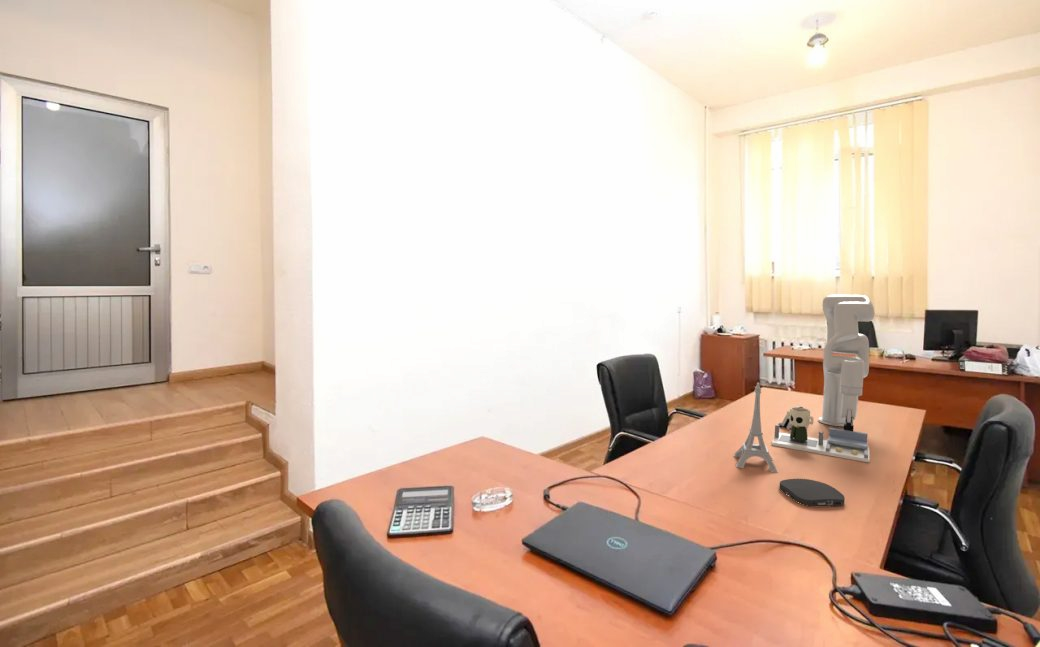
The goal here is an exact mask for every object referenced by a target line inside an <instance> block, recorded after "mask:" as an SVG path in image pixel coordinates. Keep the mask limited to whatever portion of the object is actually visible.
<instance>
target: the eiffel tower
mask: <svg viewBox="0 0 1040 647" xmlns="http://www.w3.org/2000/svg"><path fill="white" fill-rule="evenodd" d="M754 393H755V397H754V405H753V406H754V408H753V416H752V422H751V427H750V428H749V433H748V436H747V437H746V440H745V441H744V442H742V446H741V447H740V448H738V449H737V451H735V453H733V457H734V456H735V457H734V458H737V457H740V458H739V459H738V461H737V463H736V464H735V468H737V467H739V468H738V469H745V465H746V463H747V461H748V459H750V458H753V457H756V458H757V457H758V458H760V459H763V460H764V461H765V462H766V464H767V465H768V471H769V472H770V471H773V472H772V473H779V471H778V469H777V467H776V466H775V464H774V462H772V461H774V459H773V458H772V456H771V454H770V451H769V449H768V447H767V444H765V441H764V438H763V435H764V432H763V430H762V424H761V423H762V421H761V394H762V388H761V386H760V382H756V386H755V387H754ZM755 438H757V440H758V443H754V441H755Z"/></svg>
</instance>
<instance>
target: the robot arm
mask: <svg viewBox="0 0 1040 647" xmlns="http://www.w3.org/2000/svg"><path fill="white" fill-rule="evenodd" d="M822 311H823V314H824V316H825V320H826V324H827V329H826V330H827V331H826V334H827V335H826V338H827V342H826V344H825V345H824V348H823V360H822V368H823V379H824V380H823V395H822V396H823V400H822V413H821V414H822V415H821V416H819V417H818V422H819V423H821V424H823V425H828V426H832V427H843V430H848V431H854V420H856V417H857V412H858V404H859V397H861V396H863V386H864V378H866V377H868V375H869V370H870V343H869V342H870V341H869V338H868V336H867V335H865V334H863V333H859V322H866V323H867V322H871V321H872V320H873V319H874V317H875V306H874V305H873V303H872V301H871V299H870V298H869V297H868V296H867V295H865V294H864V295H863V294H862V295H861V294H830V295H827V296H825V297H824V298H823V299H822ZM832 353H835V354H846V355H845V356H843V355H833V354H832ZM847 354H848V355H855V356H847Z"/></svg>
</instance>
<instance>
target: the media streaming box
mask: <svg viewBox="0 0 1040 647" xmlns="http://www.w3.org/2000/svg"><path fill="white" fill-rule="evenodd" d="M779 488H780V489H781V490H782V491H783V492H784V493H783V492H782V491H781V490H780V489H779ZM779 488H778V489H779V490H780V491H781V492H782V493H783V494H785V495H786V494H787V495H789V496H790V497H791V498H792V500H793V499H794V500H795V501H797V502H799V503H801V504H800V505H802V504H804V505H803V506H805V505H808V506H807V507H811V506H831V507H842V506H841V505H843V504H844V505H845V495H844V494H843V493H842V492H840V490H837V488H835V487H833V486H831V485H830V484H827V483H825V482H822V481H817V480H814V479H807V478H788V479H782V480H781V481H779ZM787 495H786V496H787ZM790 497H789V498H790ZM791 498H790V499H791ZM794 500H793V501H794ZM795 501H794V502H795ZM797 502H796V503H797ZM799 503H798V504H799ZM844 505H843V506H844Z"/></svg>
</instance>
